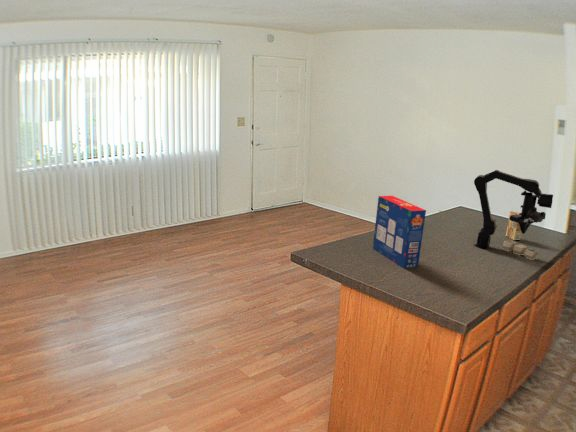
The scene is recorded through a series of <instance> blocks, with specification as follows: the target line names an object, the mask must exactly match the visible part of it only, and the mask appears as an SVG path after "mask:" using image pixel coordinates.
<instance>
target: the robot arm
mask: <svg viewBox="0 0 576 432" xmlns="http://www.w3.org/2000/svg"><path fill="white" fill-rule="evenodd" d="M495 179H496V180H500V181H503V182H506V183H508V184H512V185H515V186H517V187H520V188H522V189H523V190H524V191H522V192H521V193H520V196H524V198H523V204H522V205H520V209H521V212H518V213H519V215H521V216H519V215H511V216H510V219H509V218H508V220H511V221H514V222H517V223H519V225H520V228H521V234H526V233H527V230H528V229H529V228H530V226H531V225H532V224H534V223H542V222H543V220H545V219H546V212H545V211H540V212H539V211H537V210H538V208H537V207H536V204H537V205H538V207H542V208H548V209H552V206H553V200H554V199H553V198H554V194H548V193H542V191H541V189H540V183H539V181H537V180H535V179H531V178H522V177H519V176H515V175H512V174H509V173H506V172H503V171H500V170H498V169H495V170H493V171H492V172H489V173H486V174H484V175H483V174H479V175H477V177H475V179H474V180H473V184H474V186H475V189H476V191H477V193H478V196H479V201H480V207H481V212H482V217H483V224H482V226H483V227H482V228H481V229H480V230H479V232H478V233H477V234H478V235H477V238H476V239H477V240H476V243H474V244H473V246H475V247H478V248H479V249H481V250H487V249H491V248H492V247H491V246H490V243H491V236H492V235H494V234H495V231H496V229H497V227H498V225H497V221H496V220H497V218H495V219H493V217H492V213H491V208H490V207H491V206H490V201H489V197H488V193H487V191H488V183H490V182H492V181H494V180H495Z"/></svg>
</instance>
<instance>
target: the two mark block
mask: <svg viewBox="0 0 576 432" xmlns="http://www.w3.org/2000/svg"><path fill="white" fill-rule="evenodd" d="M514 245H517V242H516V241H513V240H511V239H510V240H503V244H502V248H504V249H506V250H509V251H508V252H511V251H510V250H514ZM504 249H503V250H504ZM506 250H505V251H506Z"/></svg>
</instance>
